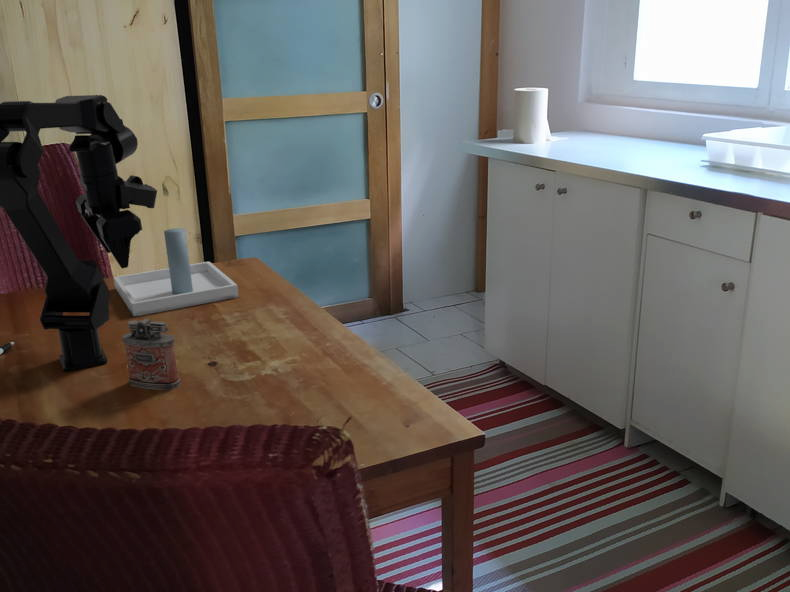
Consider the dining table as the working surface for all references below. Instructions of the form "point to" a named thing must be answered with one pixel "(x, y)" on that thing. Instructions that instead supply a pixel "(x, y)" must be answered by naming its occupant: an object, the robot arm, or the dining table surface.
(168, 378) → the lighter
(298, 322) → the dining table surface
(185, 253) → the dowel
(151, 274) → the tray
